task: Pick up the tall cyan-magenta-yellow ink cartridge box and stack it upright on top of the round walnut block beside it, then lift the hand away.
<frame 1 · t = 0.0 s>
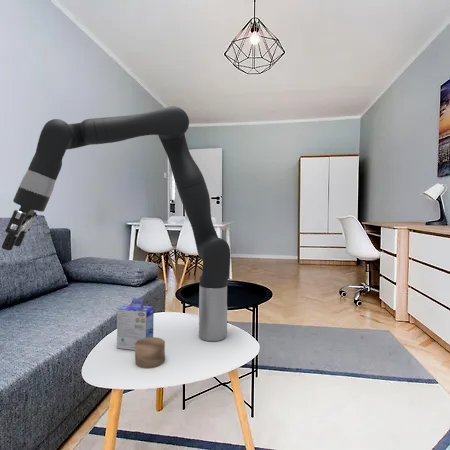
hand: (11, 247, 83), 31 cm above the table, tool tilted 20°, fingers open, 8 cm apart
ink cartridge box: (135, 347, 96), on the table
walnut block: (150, 360, 87), on the table
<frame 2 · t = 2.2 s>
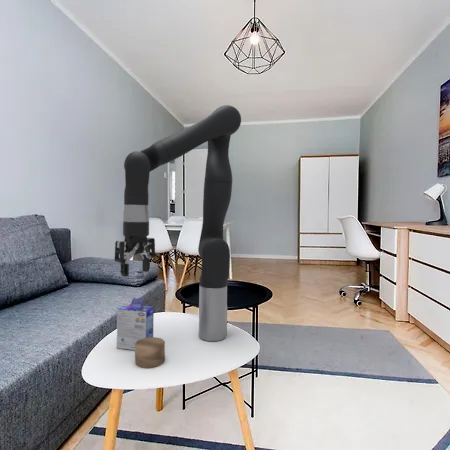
hand: (135, 273, 95), 23 cm above the table, tool pointing down, fingers open, 8 cm apart
nothing on the table moved.
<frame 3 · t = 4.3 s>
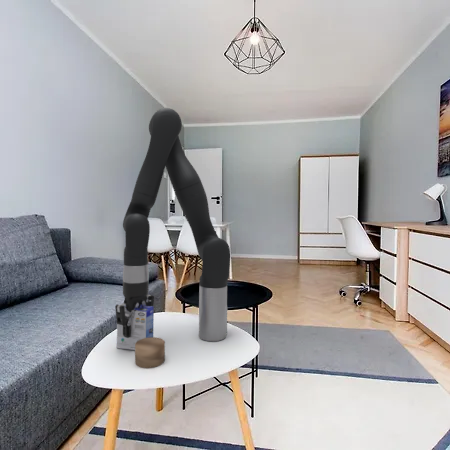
hand: (135, 333, 96), 4 cm above the table, tool pointing down, fingers closed on ink cartridge box, 6 cm apart
ink cartridge box: (135, 347, 96), on the table, touching gripper
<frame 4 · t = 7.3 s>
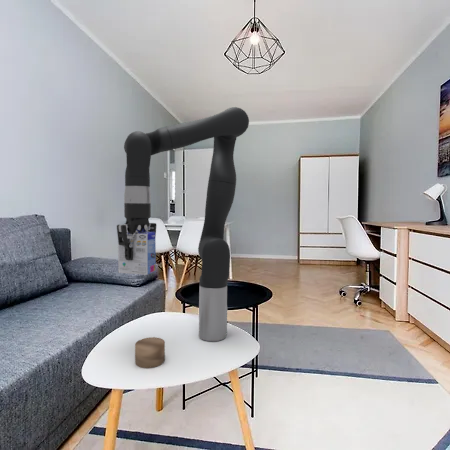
hand: (137, 258, 94), 27 cm above the table, tool pointing down, fingers closed on ink cartridge box, 6 cm apart
ink cartridge box: (137, 273, 94), point 23 cm above the table, touching gripper
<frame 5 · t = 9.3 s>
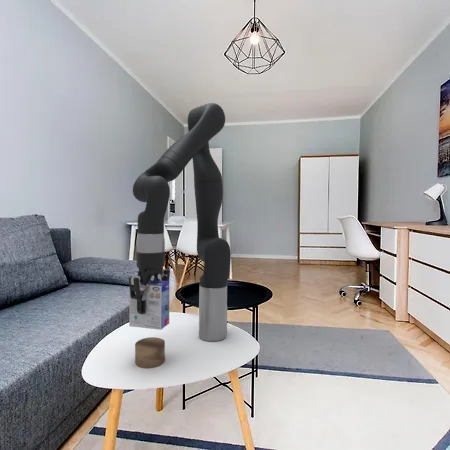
hand: (150, 309, 87), 14 cm above the table, tool pointing down, fingers closed on ink cartridge box, 6 cm apart
ink cartridge box: (150, 325, 87), point 10 cm above the table, touching gripper
when the fingers open (10 cm above the table, at t = 10.7 s): ink cartridge box stays where it is, resting on walnut block.
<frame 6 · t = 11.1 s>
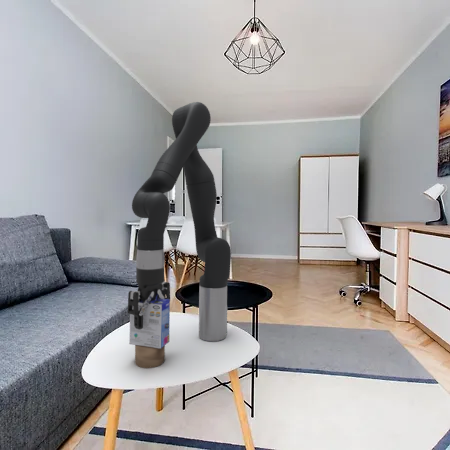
hand: (150, 323, 87), 11 cm above the table, tool pointing down, fingers open, 8 cm apart
ink cartridge box: (150, 343, 87), point 5 cm above the table, touching walnut block
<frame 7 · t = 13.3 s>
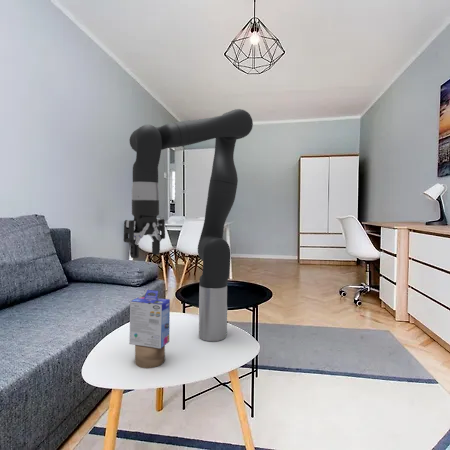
hand: (145, 256, 89), 29 cm above the table, tool pointing down, fingers open, 8 cm apart
nothing on the table moved.
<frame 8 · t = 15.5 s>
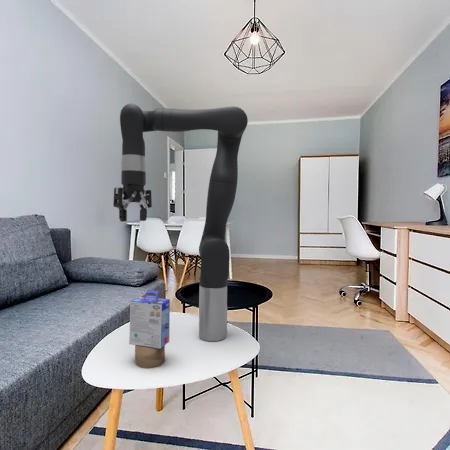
hand: (133, 221, 101), 38 cm above the table, tool pointing down, fingers open, 8 cm apart
nothing on the table moved.
at the end: ink cartridge box 0.1 cm off-centre on the walnut block, point 4.8 cm above the walnut block's base; ink cartridge box tilted 0°; the gripper is holding nothing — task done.
